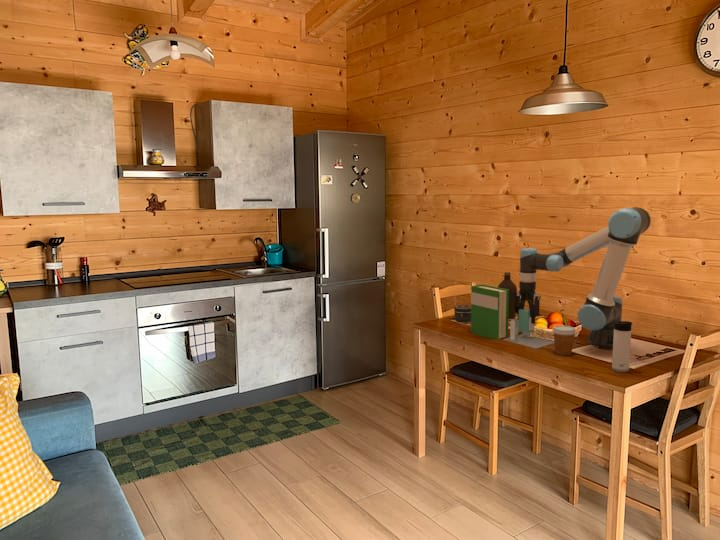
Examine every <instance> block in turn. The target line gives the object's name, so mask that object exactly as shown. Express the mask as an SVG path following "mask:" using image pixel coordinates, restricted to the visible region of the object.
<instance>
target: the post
mask: <svg viewBox="0 0 720 540" xmlns="http://www.w3.org/2000/svg"><path fill="white" fill-rule="evenodd" d="M518 324H519V320H518V319H511V320H510V325H509V326H510V327H509V329H510V331H509V332H510V333H509V335H510V336H509V337H510V339H507V340H509V341H508V342H510V341H512V342H511V343H513V342H517V341H521V340H520V339H518V335H519V331H518Z"/></svg>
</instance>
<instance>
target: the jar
mask: <svg viewBox="0 0 720 540" xmlns="http://www.w3.org/2000/svg"><path fill="white" fill-rule="evenodd" d="M453 312H454V320H455V321H456V322H459V323H471V305H466V304H459V305H455V306H454V311H453Z"/></svg>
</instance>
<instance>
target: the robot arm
mask: <svg viewBox="0 0 720 540" xmlns="http://www.w3.org/2000/svg"><path fill="white" fill-rule="evenodd" d="M651 222H652V219H651V215H650V213H649V212H648V211H647V210H646V209H644V208H641V207H637V206H636V207H634V206H633V207H625V208H620V209H619V210H617V211H615V212H614V213H613V214H611V216H610V217H609V219H608V223H607V226H606V227H604V228H602V229H600V230H598V231H596V232H594V233H592V234H590V235H588V236H586V237H585V238H582V239H581V240H579V241H577V242H574V243H573V244H571V245H569V246H567V247H564V248H562V249H561V250H559V251H556V252H553V253H547V254H546V253H538V249H536V248H532V247H525V248H521V250H520V255H519V279H518V280H519V282H518V283H519V287H518V288H519V291H517V292H514V295H515V308H514V311H515V313H516V314H517V320H518V321H519V309H524V308H525V304H526V302H527V303H528V304H527V305H528V309H530V314H531V316H530V317H529V330H534V331H535V324H536V317H539V316H540V308H541V307H540V303H541V302H540V301H541V295H539V294H536V293H537V292H536V288H537V282H536V281H537V271H538V270H540V271H546V272H547V271H548V272H551V273H552V272H560V271H562V270H563V268H565V267H568V266H570V265H571V264H573V263H574V262H576V261H578V260H581V259H583V258H584V257H586V256H589V255H591V254H593V253H596V252H597V251H599V250H601V249H604V248H606V247H607V248H606V251H605V254H604V257H603V261H602V262H601V266H600V269H599V272H598V275H597V278H596V280H595V284H594V287H593V289H592V292H591V293H589V294H587V296H586V298H585V301H584V304H583V305H582V306H581V307H580V308H579V310H578V311H577V320H578V322H579V324H580V325H581V326H582V327H583V328H584V329H586V330H589V331H590V334H589V337H588V339H587V340H588V342H587V343H588V345H591V346H594V347H595V348H596V347H597V349H600V350H610V351H611V350H612V351H613V338H614V323H616V322H619V321H622V316H623V315H622V313H623V305H624V304H623V298H622V297H620V296H616V295H615V294H616V291H617V288H618V285H619V284H620V281H621V277H622V275H623V272H624V270H625V269H624V268H625V266H626V263H627V260H628V257H629V254H630V251H631V249H632V248H633V247H634V246H637V245H638V242H639V239H640V237H641V235H642V234H643V233H646V232H647V230H649V228H650V226H651Z"/></svg>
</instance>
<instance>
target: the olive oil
mask: <svg viewBox="0 0 720 540" xmlns="http://www.w3.org/2000/svg"><path fill="white" fill-rule="evenodd" d="M503 275H504V276H503V280H502V281H501V282H500V283H499V284H498V285H497V287H498V288H503V289H509V318H508V320H509V319H515V318H516V312H515V311H514V308H515V295H514V292H518V288H517V285H516V284H515V283H514V282H513V281H512V279H511V272H509V271H506V272H504V274H503Z"/></svg>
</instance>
